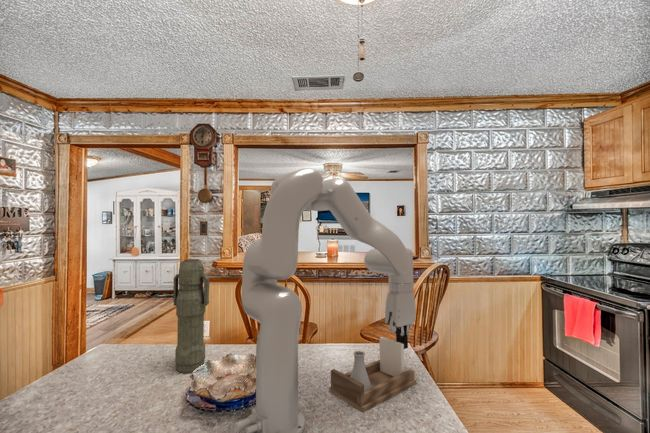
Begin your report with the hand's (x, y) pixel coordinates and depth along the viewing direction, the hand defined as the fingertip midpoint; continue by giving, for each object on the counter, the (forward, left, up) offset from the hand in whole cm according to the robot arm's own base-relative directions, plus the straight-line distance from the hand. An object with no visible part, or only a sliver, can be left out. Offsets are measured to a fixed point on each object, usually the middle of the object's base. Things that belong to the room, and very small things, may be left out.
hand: (402, 347), depth 97 cm
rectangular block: (-5, 0, -7) cm, 8 cm away
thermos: (-49, +47, -8) cm, 68 cm away
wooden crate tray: (-13, 0, -8) cm, 15 cm away
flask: (-19, 0, -7) cm, 20 cm away
